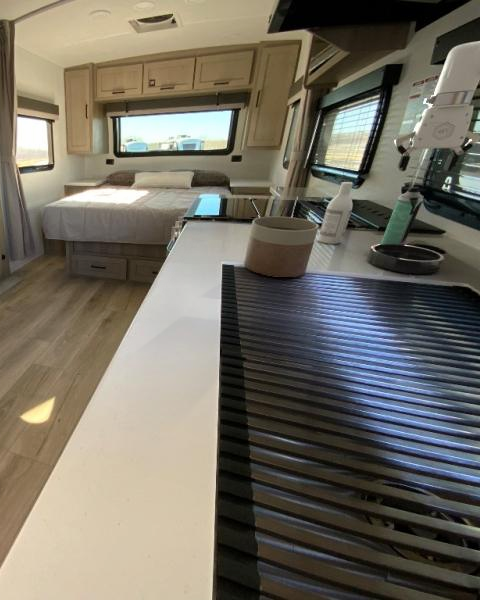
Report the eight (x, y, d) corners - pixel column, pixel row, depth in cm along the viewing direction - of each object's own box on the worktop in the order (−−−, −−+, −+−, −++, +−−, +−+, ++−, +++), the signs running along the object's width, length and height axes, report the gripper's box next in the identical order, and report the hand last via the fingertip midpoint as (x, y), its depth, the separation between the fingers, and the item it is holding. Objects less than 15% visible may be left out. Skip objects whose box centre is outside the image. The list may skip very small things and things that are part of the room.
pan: (425, 259, 99) (431, 246, 98) (447, 278, 87) (454, 264, 85) (361, 253, 106) (366, 241, 104) (373, 270, 94) (379, 257, 92)
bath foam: (332, 238, 121) (350, 180, 112) (345, 244, 114) (366, 183, 105) (313, 239, 121) (329, 181, 112) (325, 244, 115) (344, 184, 106)
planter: (247, 277, 93) (257, 229, 87) (240, 258, 106) (248, 215, 100) (312, 282, 89) (327, 231, 82) (296, 261, 102) (308, 216, 96)
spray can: (404, 254, 103) (433, 188, 94) (387, 255, 104) (413, 189, 94) (390, 249, 108) (416, 185, 99) (373, 249, 108) (397, 186, 99)
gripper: (412, 103, 87) (388, 172, 95) (505, 96, 80) (472, 171, 88) (402, 104, 93) (381, 169, 101) (489, 98, 86) (459, 168, 94)
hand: (423, 170), depth 94 cm, fingers open, 9 cm apart
